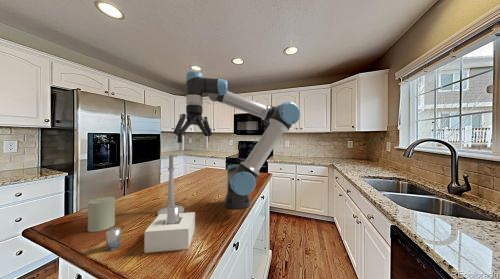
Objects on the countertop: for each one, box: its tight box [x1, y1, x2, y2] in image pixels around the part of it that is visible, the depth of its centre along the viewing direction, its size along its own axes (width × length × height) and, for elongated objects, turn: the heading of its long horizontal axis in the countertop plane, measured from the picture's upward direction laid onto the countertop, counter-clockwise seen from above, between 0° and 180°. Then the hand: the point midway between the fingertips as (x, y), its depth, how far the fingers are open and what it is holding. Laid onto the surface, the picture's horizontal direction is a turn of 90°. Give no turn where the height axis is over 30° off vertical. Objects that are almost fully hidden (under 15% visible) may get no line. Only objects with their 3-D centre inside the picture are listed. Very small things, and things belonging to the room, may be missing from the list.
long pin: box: [167, 204, 180, 225], centre depth 67 cm, size 4×4×12 cm
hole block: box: [144, 211, 196, 254], centre depth 67 cm, size 14×14×7 cm
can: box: [87, 196, 116, 233], centre depth 77 cm, size 9×9×12 cm
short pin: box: [105, 226, 122, 252], centre depth 62 cm, size 4×4×6 cm
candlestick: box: [156, 154, 185, 216], centre depth 92 cm, size 13×13×30 cm
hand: (194, 149), depth 85 cm, fingers open, 13 cm apart
